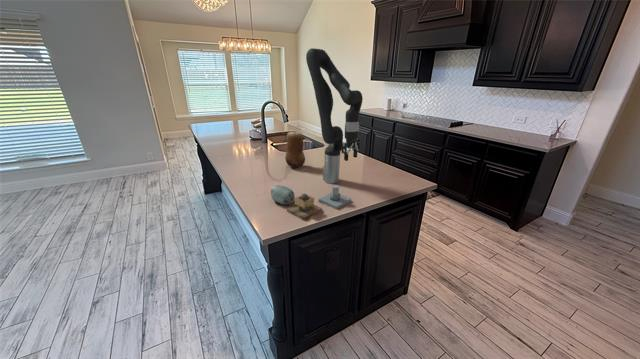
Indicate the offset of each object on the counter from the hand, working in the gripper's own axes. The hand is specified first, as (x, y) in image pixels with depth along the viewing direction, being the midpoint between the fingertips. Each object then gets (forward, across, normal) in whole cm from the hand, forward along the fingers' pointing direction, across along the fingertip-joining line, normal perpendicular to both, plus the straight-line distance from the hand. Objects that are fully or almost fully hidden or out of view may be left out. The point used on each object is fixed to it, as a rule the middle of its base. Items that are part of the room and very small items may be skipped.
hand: (350, 158), depth 141 cm
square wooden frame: (+13, +38, +1) cm, 40 cm away
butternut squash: (+16, -1, -48) cm, 50 cm away
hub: (+17, +20, +5) cm, 27 cm away
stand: (+17, +38, +1) cm, 42 cm away
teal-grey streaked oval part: (+17, +39, -14) cm, 45 cm away
